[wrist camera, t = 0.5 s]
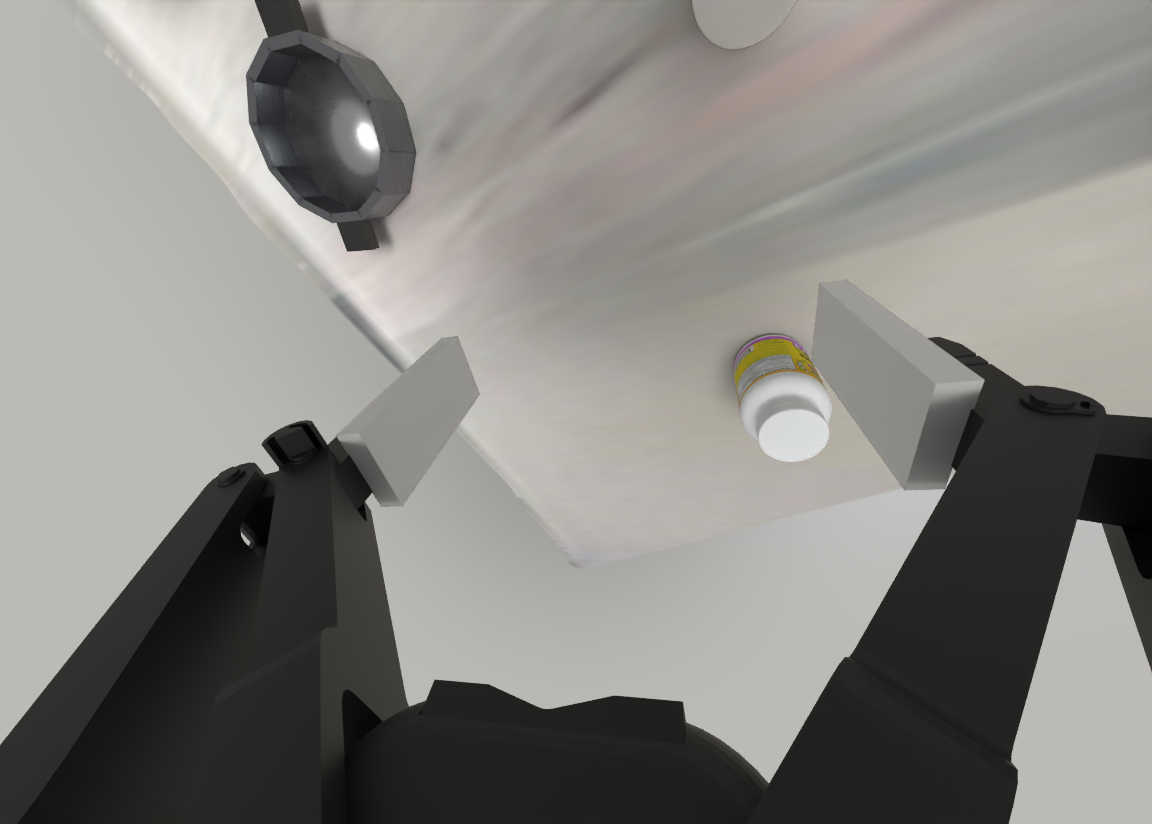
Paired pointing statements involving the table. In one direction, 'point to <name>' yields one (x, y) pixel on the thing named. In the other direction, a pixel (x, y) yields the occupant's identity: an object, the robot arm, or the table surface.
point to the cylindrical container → (739, 20)
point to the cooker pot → (328, 125)
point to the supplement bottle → (782, 398)
